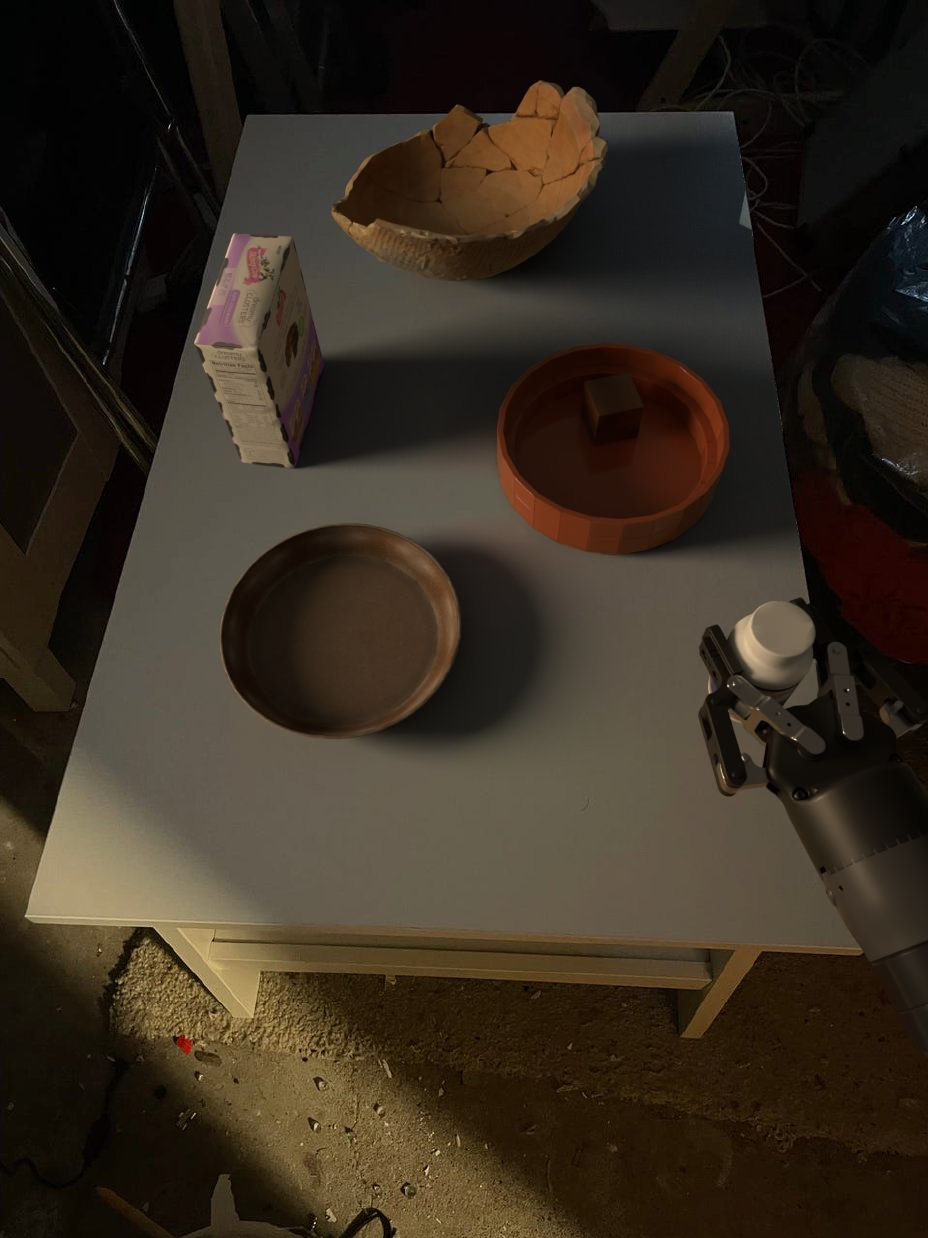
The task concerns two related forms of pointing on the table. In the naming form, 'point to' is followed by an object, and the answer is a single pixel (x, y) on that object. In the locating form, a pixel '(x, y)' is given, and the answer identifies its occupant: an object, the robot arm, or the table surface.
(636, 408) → the block
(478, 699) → the table surface
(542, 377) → the bowl
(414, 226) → the ceramic bowl
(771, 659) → the pill bottle
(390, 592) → the plant saucer
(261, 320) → the candy box
